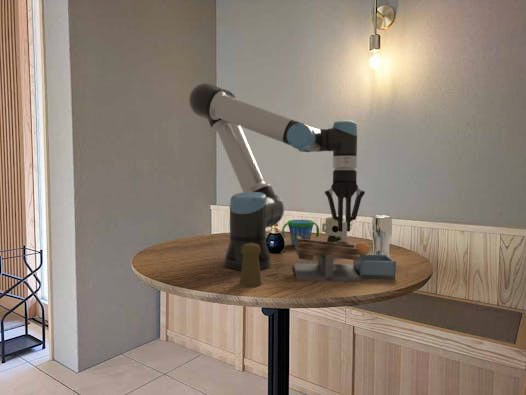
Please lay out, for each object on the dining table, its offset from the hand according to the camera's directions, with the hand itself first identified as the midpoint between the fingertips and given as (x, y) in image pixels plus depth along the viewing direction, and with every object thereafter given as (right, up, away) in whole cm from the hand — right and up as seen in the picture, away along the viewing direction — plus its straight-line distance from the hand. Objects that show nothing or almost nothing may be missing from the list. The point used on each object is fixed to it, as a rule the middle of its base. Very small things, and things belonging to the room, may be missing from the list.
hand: (343, 241), depth 130 cm
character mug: (+1, -7, +22) cm, 23 cm away
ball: (+3, -1, -11) cm, 11 cm away
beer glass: (+15, -8, +11) cm, 21 cm away
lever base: (-8, -9, -10) cm, 15 cm away
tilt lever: (-8, -4, -7) cm, 11 cm away
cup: (+7, -9, -10) cm, 15 cm away
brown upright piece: (-30, -9, -22) cm, 38 cm away
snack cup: (-11, -6, +34) cm, 36 cm away
